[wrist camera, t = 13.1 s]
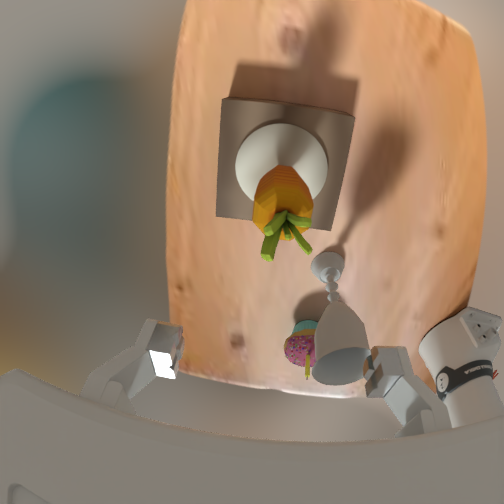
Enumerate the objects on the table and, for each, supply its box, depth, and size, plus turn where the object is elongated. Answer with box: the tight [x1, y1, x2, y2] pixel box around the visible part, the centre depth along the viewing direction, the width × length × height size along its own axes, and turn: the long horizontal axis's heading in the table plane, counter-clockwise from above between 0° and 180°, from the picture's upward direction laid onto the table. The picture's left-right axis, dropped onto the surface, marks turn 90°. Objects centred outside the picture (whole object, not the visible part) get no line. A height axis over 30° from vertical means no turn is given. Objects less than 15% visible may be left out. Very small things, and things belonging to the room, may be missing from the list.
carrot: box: [252, 165, 314, 261], centre depth 25 cm, size 5×5×15 cm
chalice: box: [311, 252, 371, 385], centre depth 35 cm, size 7×7×18 cm
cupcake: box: [284, 320, 318, 380], centre depth 46 cm, size 9×8×12 cm
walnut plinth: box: [216, 97, 355, 231], centre depth 33 cm, size 14×14×4 cm
